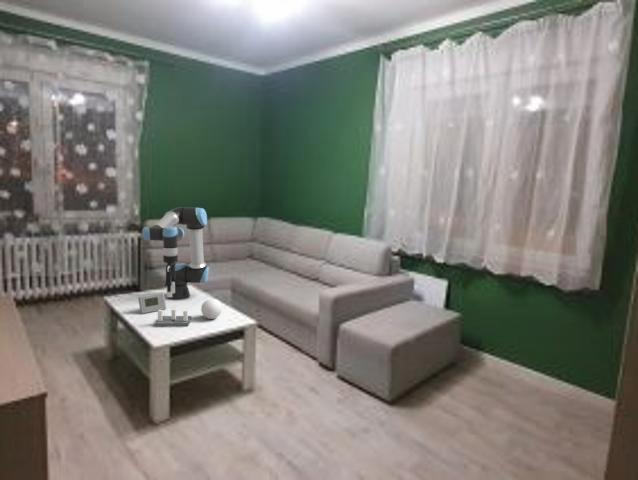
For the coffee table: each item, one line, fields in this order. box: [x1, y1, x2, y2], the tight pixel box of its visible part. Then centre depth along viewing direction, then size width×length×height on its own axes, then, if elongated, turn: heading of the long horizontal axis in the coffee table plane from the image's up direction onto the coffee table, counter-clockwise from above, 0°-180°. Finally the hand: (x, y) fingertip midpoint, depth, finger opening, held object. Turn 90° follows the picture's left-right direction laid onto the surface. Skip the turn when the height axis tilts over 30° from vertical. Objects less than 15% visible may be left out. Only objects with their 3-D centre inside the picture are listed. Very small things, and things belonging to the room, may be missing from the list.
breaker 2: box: [182, 309, 189, 321], centre depth 241 cm, size 2×2×6 cm
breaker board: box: [154, 315, 192, 328], centre depth 243 cm, size 12×18×2 cm, turn 98°
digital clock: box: [138, 291, 167, 315], centre depth 260 cm, size 16×9×11 cm, turn 123°
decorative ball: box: [200, 298, 223, 320], centre depth 252 cm, size 12×12×12 cm
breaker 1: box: [157, 310, 164, 321], centre depth 239 cm, size 2×2×6 cm
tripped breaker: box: [171, 308, 177, 320], centre depth 242 cm, size 2×2×6 cm
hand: (170, 294), depth 233 cm, fingers open, 7 cm apart
